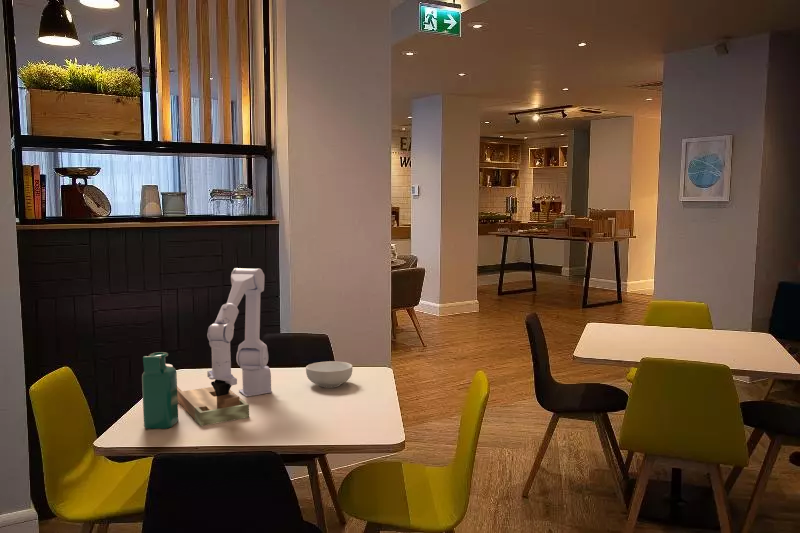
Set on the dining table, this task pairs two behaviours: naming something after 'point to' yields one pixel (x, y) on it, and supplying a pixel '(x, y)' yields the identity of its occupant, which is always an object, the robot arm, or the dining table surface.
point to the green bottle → (159, 392)
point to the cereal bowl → (329, 373)
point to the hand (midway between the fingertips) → (222, 403)
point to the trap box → (210, 406)
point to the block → (227, 401)
